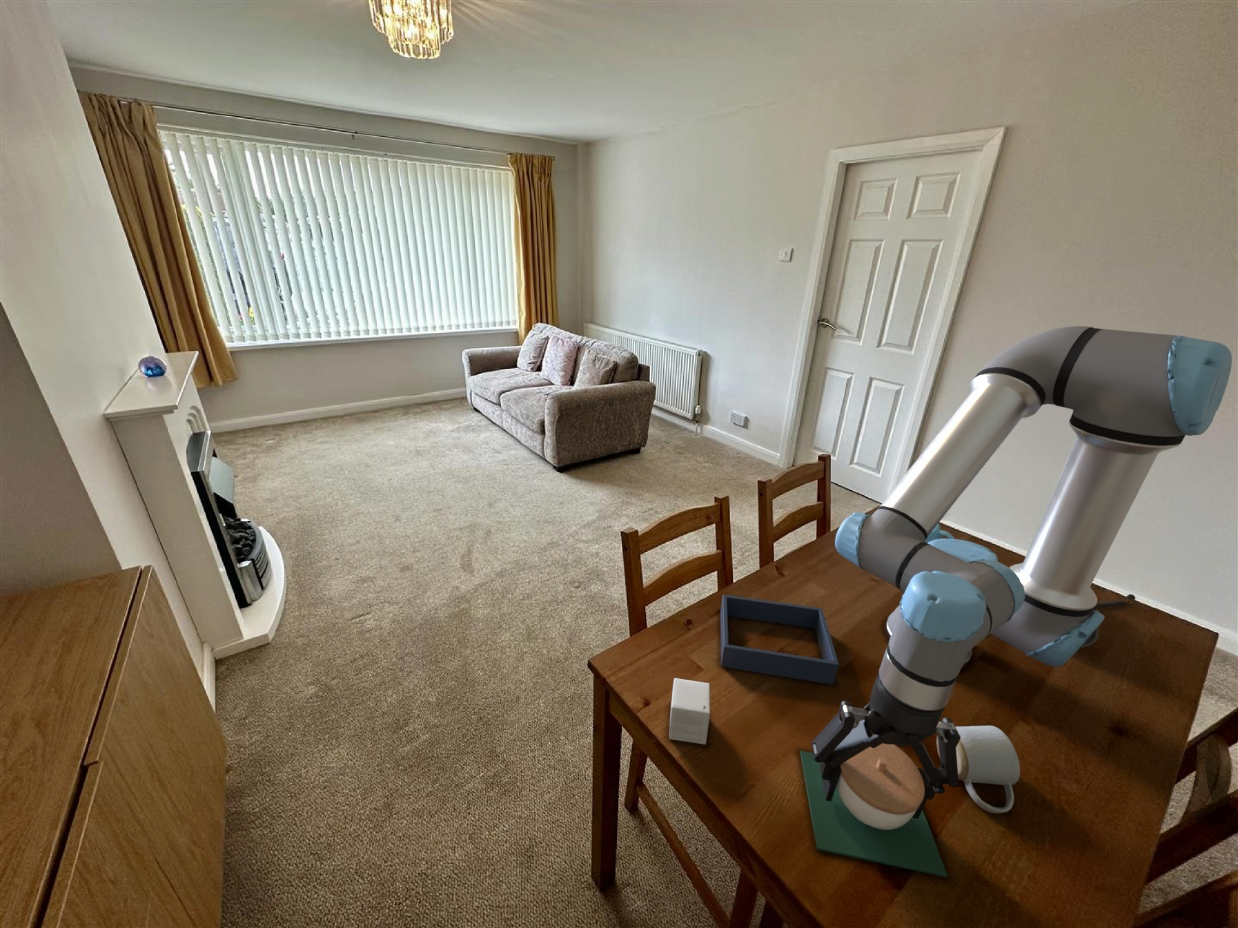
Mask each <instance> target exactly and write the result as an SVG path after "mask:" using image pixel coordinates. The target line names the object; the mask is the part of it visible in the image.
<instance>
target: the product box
mask: <svg viewBox="0 0 1238 928" xmlns="http://www.w3.org/2000/svg"><path fill="white" fill-rule="evenodd" d="M710 688H711V687H710V682H702V681H696V680H689V679H683V678H679V677H674V678H673V684H672V693H671V703H670V716H669V717H670V718H669V732H668V736H669V740H673V741H680V742H685V743H686V742H687V743H692V744H693V743H694V744H699V745H707V739H708V732H709V730H708V729H709V723H710V717H711V691H710V690H711V689H710Z"/></svg>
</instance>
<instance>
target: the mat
mask: <svg viewBox="0 0 1238 928" xmlns="http://www.w3.org/2000/svg"><path fill="white" fill-rule="evenodd" d="M799 753H800V759H801V764H802V765H801V766H802V771H803V776H804V782H805V787H806V794H807V800H808V807H809V810H810V811H809V813H810V817H811V823H812V829H813V835H814V840H815V847H816V851H821V852H826V853H831V854H835V855H839V856H843V857H849V858H854V859H858V860H863V861H867V862H873V863H877V864H882V865H887V866H890V867H896V868H900V869H905V870H910V871H915V872H918V873H924V874H929V875H934V876H938V877H942V878H948V873H947V871H946V867H945V866H944V863H943V859H942V857H941V855H940V852H939V850H938V847H937V844H936V841H935V838H934V836H933V834H932V830H931V828H930V825H929V823H928V820H927V818H926V815H925V812H924V809H923V810H922V812H921V814H920V816H919V818H918V819H916V818H911V819H910V820H909V821H908V822H907V823H906V824H904V825H903V826H901V827H899V828H896V829H892V830H882V829H877V828H873V827H871V826H869V825H867V824H865V823H863V822H861V821H860V820H858V819H857V818H856V817H855V816H854V815H853V814H852V813H851V812H850V811H849V810H848V809H847V807H846V806H845V805H844V803H843V801H842V799H841V798H840V796H839V793H838V790H837V787H836V789H835V792H834V795H833V798H832V801H826V799H825V794H824V790H823V785H822V780H823V779H822V775H821V770H820V765H821V763H818V762H816V761H815V759H814V754H813V752H808V751H804V750H800V752H799Z"/></svg>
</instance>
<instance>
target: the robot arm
mask: <svg viewBox="0 0 1238 928" xmlns="http://www.w3.org/2000/svg"><path fill="white" fill-rule="evenodd" d="M1232 366H1233V356H1232V352H1231V350H1230V348H1229V347H1227V345H1225V344H1223V343H1221V342H1218V341H1213V340H1207V339H1201V338H1195V337H1189V336H1185V335H1175V334H1163V333H1155V332H1154V333H1153V332H1142V331H1130V330H1119V329H1111V328H1110V329H1109V328H1098V327H1097V328H1096V327H1094V326H1086V325H1085V326H1084V325H1082V326H1081V325H1071V326H1062V327H1057V328H1054V329H1050V330H1046V331H1042V332H1041V333H1037V334H1034V335H1032V336H1030V337H1029V336H1028V337H1027V338H1025V339H1023V340H1021V341H1019V342H1017V343H1015V344H1013V345H1012V346H1010V347H1008V348H1007V349H1005V350H1003V351H1002V352H1000V353H999V354H998V355H996V356H995V357H993V358H992V359H991V360H990V361H988V363H986V364H985V365H984V366H982V368H981V369H980V370H979V371H978V373H977V374H976V375H975V376H974V378H972V380H971V381H970V382H969V385H968V393H969V395H968V396H967V397H966V398H965V400H964V401H963V402H962V403H961V405H960V406H959V407H958V409H957V410H956V411H955V412H954V413H953V415H952V416H951V417H950V418H949V420H948V421H947V422H946V424H945V425H944V426H943V427H942V428H941V430H940V431H939V432H938V433H937V434H936V436H935V437H934V438H933V440H932V441H931V442H930V443H929V444H928V445H927V447H926V448H925V449H924V450H923V451H922V453H921V454H920V455H919V456H918V458H917V459H916V461H914V463H913V464H912V465H911V467H910V468H909V469H908V470H907V472H906V473H905V474H904V475H903V476H902V478H901V479H900V480H899V481H898V483H897V484H896V485H895V486H894V488H893V489H892V490H891V491H890V493H889V494H888V495H887V496H886V497H885V499H884V500H883V501H882V503H881V504H880V505H879V506H878V508H877V509H876V510H875V511H874V512H873V513H872V514H871V515H870V514H869V513H864V512H861V511H856V512H852V514H851V515H850V516H847V517H846V518H845V519H844V520H843V521H842V522H841V524H840V525H839V528H838V529H837V531H836V534H835V539H834V540H835V541H834V545H835V549H836V551H837V553H838V554H839V555H840V556H842V557H843V558H844V559H846V560H848V561H849V562H850V563H852V564H854V565H855V566H856V567H858V569H860V570H863V571H865V572H867V573H869V574H871V575H873V576H874V577H876V578H879V579H880V580H882V581H883V582H886V583H888V584H889V585H891V586H893V587H895V588H896V589H897V590H900V591H901V592H903V594H902V595H901V599H900V601H899V605H897V607H896V608H895V610H893V611H892V612H891V613H890V614H889V616H888V617H887V620H886V623H885V626H884V627H885V629H884V630H885V634H886V636H887V638H888V639H889V640H888V643H887V645H886V649H885V652H884V655H883V658H882V659H881V664H880V667H879V670H878V673H877V675H876V678H875V681H874V685H873V686H872V689H871V693H870V697H869V702H868V703H867V704H866V705H865V706H864V707H863V708H861V707H855V706H854V707H853V706H852V705H851V701H848V700H843V701H841V702H840V705H839V709H838V712H837V713H836V714H835V715H834V717H832V718H831V720H830V721H829V722H828V723H827V724H826V726H824V728H822V730H821V731H820V732H819V734H818V735H817V736H815V738H814V739H813V740H812V741H811V749H812V753H813V754H814V759H815V761H816V762H818V763H821V765H820V770H821V775H822V779H823V780H822V785H823V790H824V794H825V799H826V801H832V798H833V795H834V792H835V789H836V786H837V783H838V780H839V777H840V774H841V768H840V765H841V764H842V763H844V762H846V761H847V760H849V759H851V758H852V757H854V756H855V755H857V754H859V753H860V752H862V751H864V750H865V749H867V748H869V747H871V748H876V747H877V746H879V745H881V744H882V743H883V744H894V745H895V746H897V747H899V748H904V749H905V748H908V747H912V749H913V751H914V753H915V755H916V757H917V758H918V760H919V762H920V764H921V766H922V768H920V767H917V768H918V770H919V772H920V774H921V776H922V778H923V782H924V786H925V795H924V798H923V801H922V803H921V804H920V806H919V807H918V809H917V811H916V813H915V814H914V815H913V817H912V818H916V819H918V818H919V816H920V814H921V812H922V810H923V811H924V808H925V805H926V803H927V801H928V800H930V801H932V800H934V798H935V795H938V794H939V795H942V794H944V793H945V792H946V789H945V787H944V785H948V786H949V788H958V787H959V785H960V780H959V779H958V766H957V754H956V747H957V745H958V743H959V741H960V739H961V737H960V735H959V733H958V731H957V729H956V727H957V726H956V725H955V723H954V721H953V719H952V718H950V717H944V718H942V719H941V717H942V715H943V714H944V710H945V709H946V707H945V706H947V704H948V703H949V700H950V697H951V695H952V692H953V690H954V687H955V685H956V682H957V679H958V677H959V674H960V672H961V670H962V669H963V668H965V667H966V666H967V665H968V664H969V662H970V659H971V657H972V655H973V648H974V647H976V646H977V645H978V644H979V643H981V642H982V641H984V639H985V638H987V637H988V636H989V635H992V636H993V637H994V638H997V639H998V640H1000V641H1002V642H1004V643H1005V644H1008V645H1009V646H1012V647H1013V648H1015V649H1017V650H1018V651H1021V652H1022V653H1024V656H1027V657H1031V658H1032V659H1035V660H1036V661H1039V662H1040V663H1042V664H1044V665H1046V666H1047V667H1053V668H1060V667H1062V666H1064V665H1065V664H1066V663H1067V662H1068V661H1070V659H1071V658H1072V657H1073V656H1074V655H1075V654H1076V653H1077V652H1078V650H1080V649H1081V648H1080V647H1081V646H1082V645H1083V644H1084V642H1085V641H1086V640H1087V639H1088V638H1089V637H1090V636H1091V635H1092V633H1093V632H1094V631H1095V630H1096V629H1097V628H1099V626H1100V625H1102V623H1103V621H1104V620H1105V616H1104V614H1102V613H1101V612H1099V610H1097V609H1098V608H1111V607H1118V606H1119V607H1120V606H1124V605H1126V604H1128V603H1129V602H1130V601H1131V600H1132V601H1135V600H1136V596H1135V595H1134V594H1132V593H1129V594H1127V595H1126V596H1125V597H1124V598H1127V599H1130V601H1128V602H1123V601H1121V600H1122V599H1120V600H1117V601H1109V602H1098V597H1097V595H1096V592H1095V591H1094V590H1093V589H1092V588H1091V586H1092V584H1093V582H1094V580H1095V578H1096V577H1097V574H1098V573H1099V571H1100V569H1101V567H1102V564H1103V562H1104V561H1105V559H1106V556H1107V555H1108V553H1109V551H1110V549H1111V547H1112V545H1113V543H1114V541H1115V539H1116V537H1117V536H1118V533H1119V531H1120V529H1121V527H1122V525H1123V523H1124V521H1125V520H1126V518H1127V516H1128V513H1129V511H1130V509H1131V508H1132V506H1133V504H1134V502H1135V500H1136V498H1137V495H1138V494H1139V492H1140V490H1141V489H1142V486H1143V484H1144V482H1145V480H1146V478H1147V476H1148V474H1149V472H1150V470H1151V468H1152V467H1153V465H1154V463H1155V461H1156V459H1157V456H1158V455H1159V454H1160V453H1162V452H1164V451H1167V450H1171V449H1174V448H1177V447H1180V446H1181V445H1182V443H1183V441H1184V439H1185V437H1187V436H1188V437H1189V436H1190V437H1193V436H1201V435H1203V434H1205V432H1206V431H1207V430H1208V429H1209V427H1210V426H1211V424H1212V423H1213V421H1214V418H1215V416H1216V414H1217V411H1219V408H1220V406H1221V403H1222V400H1223V399H1224V396H1225V392H1226V389H1227V387H1228V383H1229V380H1230V374H1231V372H1232V371H1231V370H1232ZM1045 405H1052V406H1055V407H1059V408H1063V409H1064V408H1065V409H1069V410H1072V413H1071V415H1070V418H1069V421H1068V425H1069V427H1070V428H1071V429H1072V431H1073V432H1074V434H1075V435H1076V438H1075V440H1074V442H1073V444H1072V446H1071V447H1072V448H1071V450H1070V452H1069V454H1068V457H1067V459H1066V461H1065V463H1064V466H1063V469H1062V471H1061V473H1060V476H1059V478H1058V480H1057V483H1056V485H1055V486H1054V489H1053V492H1052V494H1051V496H1050V499H1049V501H1048V503H1047V506H1046V508H1045V511H1044V513H1043V515H1042V518H1041V520H1040V523H1039V524H1038V527H1037V528H1036V529H1037V530H1036V532H1035V534H1034V536H1033V538H1032V541H1031V543H1030V546H1029V549H1028V551H1027V553H1026V556H1025V558H1024V560H1023V561H1024V562H1023V561H1022V562H1023V563H1022V562H1021V563H1016V564H1013V565H1011V566H1009V567H1008V566H1007V565H1005V564H1003V563H1001V562H999V559H998V555H997V554H996V553H994V552H993V551H992V550H991V549H989V548H988V547H985V546H984V545H981V544H979V543H975V542H973V541H969V540H964V539H957V538H954V539H948V538H942V539H936V540H933V541H930V542H928V543H926V542H924V541H925V540H926V539H927V537H928V536H929V534H930V533H931V532H932V531H933V529H934V528H935V527H936V526H937V524H939V523H940V522H941V521H942V520H943V518H944V517H945V516H946V515H947V513H948V512H949V511H950V509H951V508H952V507H953V506H954V505H955V503H956V502H957V500H958V499H959V498H960V497H961V496H962V494H963V493H964V492H965V491H966V489H967V488H968V487H969V486H970V484H972V482H973V481H974V479H975V478H976V477H977V476H978V474H979V473H980V472H981V470H982V469H983V468H984V466H985V465H986V464H988V462H989V460H990V459H991V458H992V456H993V455H994V454H995V453H996V451H997V450H998V449H999V448H1000V447H1001V445H1002V444H1003V443H1004V441H1005V440H1006V439H1007V438H1008V437H1009V435H1010V434H1011V432H1013V430H1014V429H1015V428H1016V426H1017V425H1018V424H1019V422H1020V421H1021V420H1022V419H1027V418H1030V417H1032V416H1034V415H1035V414H1036V413H1038V411H1039V410H1040V409H1041V408H1042V406H1045ZM940 719H941V721H940ZM935 734H936V737H937V736H938V743H939V753H940V757H939V763H940V767H936V766H935V764H934V761H933V760H932V758H931V756H930V754H929V752H928V750H927V748H926V747H925V744H924V742H923V741H924V740H926V739H928V738H930V737H932V736H934V735H935Z"/></svg>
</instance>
